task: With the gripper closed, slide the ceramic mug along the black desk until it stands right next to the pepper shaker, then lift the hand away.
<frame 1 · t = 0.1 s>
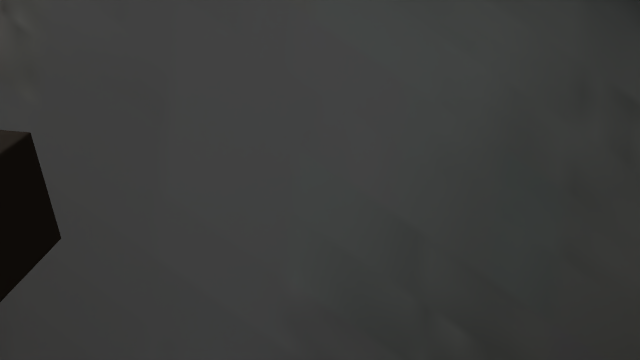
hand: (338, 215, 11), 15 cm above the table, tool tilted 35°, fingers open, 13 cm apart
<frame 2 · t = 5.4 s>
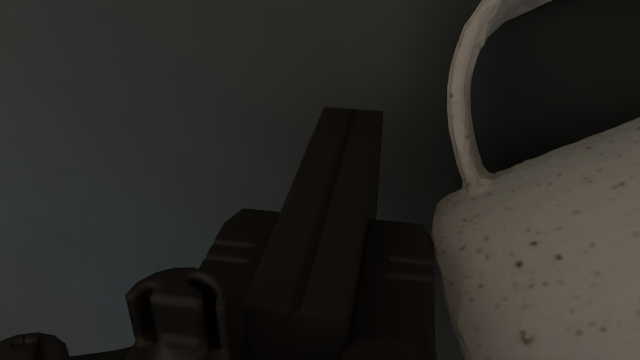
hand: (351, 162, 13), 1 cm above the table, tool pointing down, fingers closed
ceramic mug: (605, 158, 14), on the table, touching gripper
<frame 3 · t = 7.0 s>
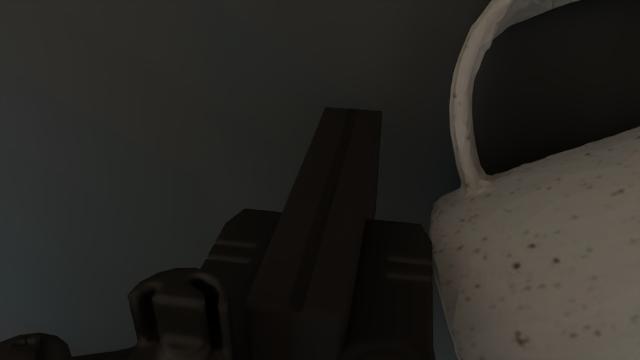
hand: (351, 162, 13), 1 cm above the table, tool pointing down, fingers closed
ceramic mug: (599, 166, 14), on the table, touching gripper
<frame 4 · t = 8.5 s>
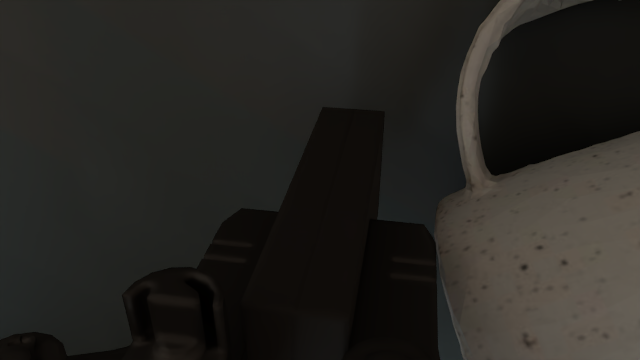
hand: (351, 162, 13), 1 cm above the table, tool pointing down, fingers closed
ceramic mug: (603, 167, 14), on the table, touching gripper
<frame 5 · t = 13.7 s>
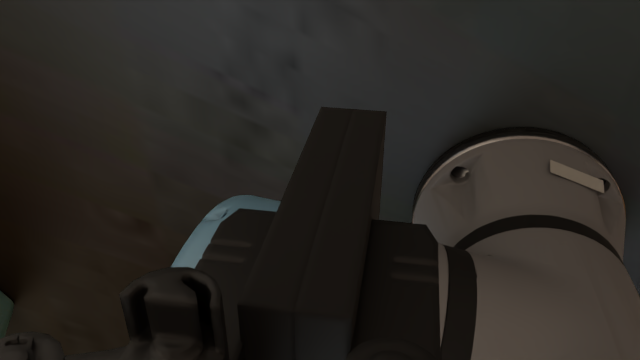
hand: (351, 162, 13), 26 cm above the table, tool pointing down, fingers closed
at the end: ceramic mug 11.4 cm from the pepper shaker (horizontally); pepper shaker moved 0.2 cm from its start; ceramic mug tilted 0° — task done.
